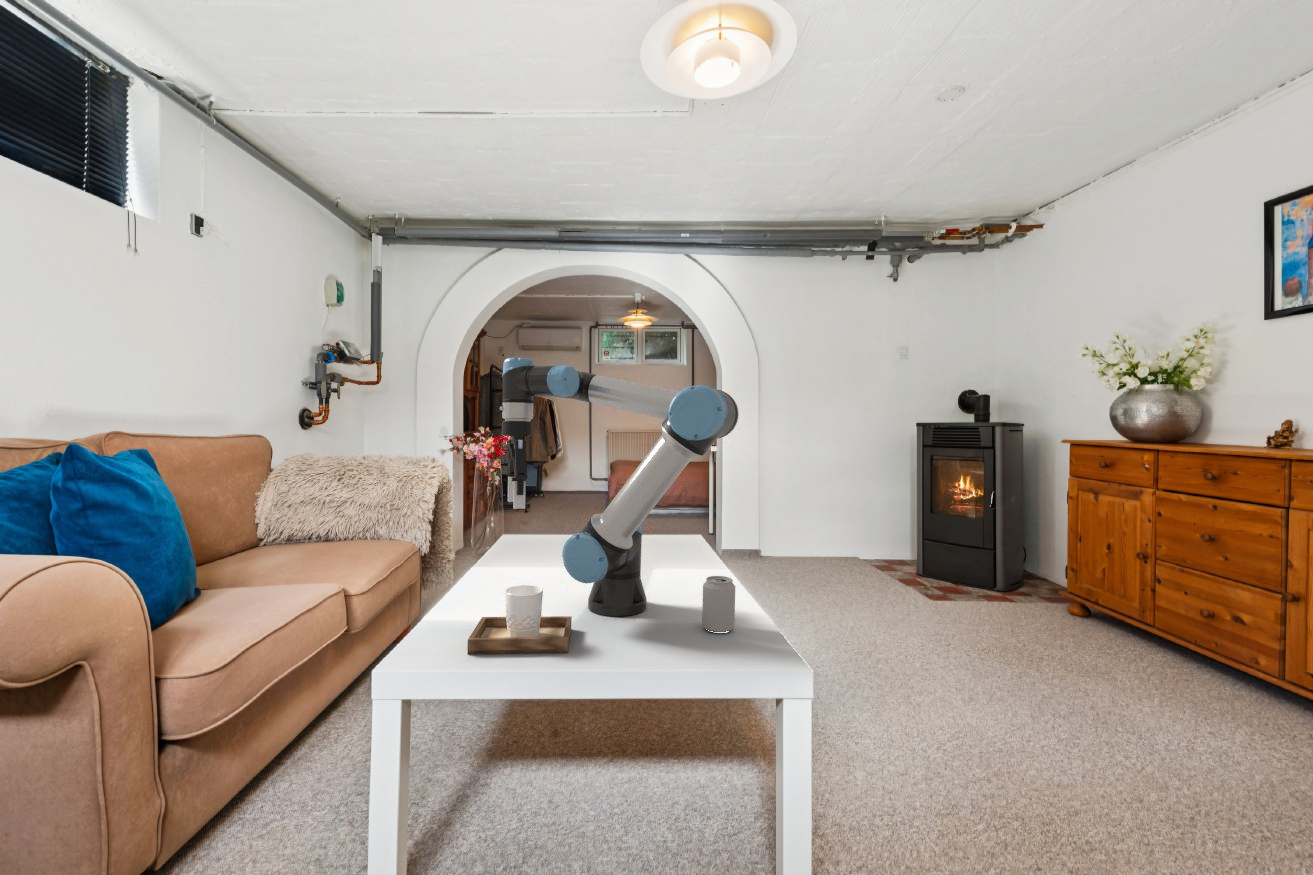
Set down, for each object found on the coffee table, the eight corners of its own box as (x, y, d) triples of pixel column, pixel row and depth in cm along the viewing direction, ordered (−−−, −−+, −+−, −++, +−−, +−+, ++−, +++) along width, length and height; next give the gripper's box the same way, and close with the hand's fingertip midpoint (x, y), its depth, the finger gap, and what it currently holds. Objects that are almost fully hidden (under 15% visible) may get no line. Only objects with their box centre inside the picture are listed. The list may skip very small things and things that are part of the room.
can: (738, 627, 135) (739, 576, 135) (728, 637, 128) (729, 584, 128) (708, 622, 138) (709, 572, 138) (697, 631, 131) (698, 579, 131)
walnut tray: (571, 629, 131) (571, 616, 131) (567, 653, 117) (568, 638, 117) (481, 630, 129) (482, 616, 129) (467, 654, 115) (467, 639, 115)
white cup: (532, 644, 118) (533, 596, 118) (497, 640, 120) (498, 593, 120) (547, 631, 126) (548, 586, 126) (514, 628, 128) (515, 583, 127)
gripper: (497, 420, 153) (496, 499, 153) (506, 419, 130) (505, 512, 130) (526, 421, 156) (524, 498, 156) (540, 420, 132) (538, 511, 133)
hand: (516, 505), depth 143 cm, fingers open, 13 cm apart
